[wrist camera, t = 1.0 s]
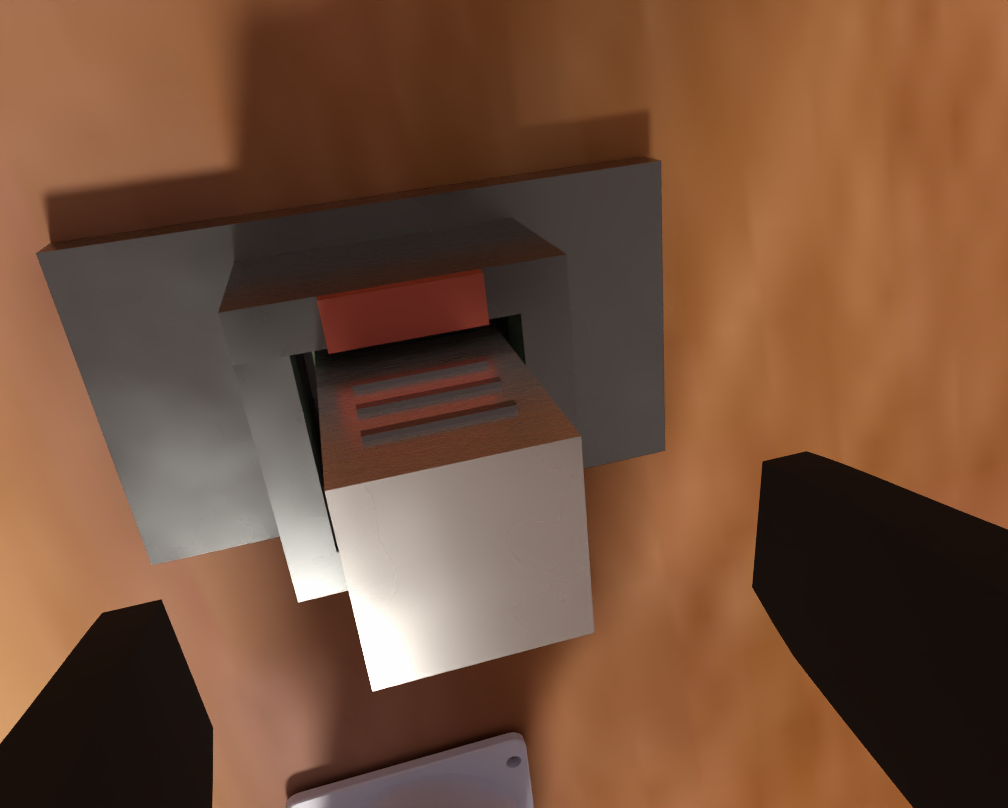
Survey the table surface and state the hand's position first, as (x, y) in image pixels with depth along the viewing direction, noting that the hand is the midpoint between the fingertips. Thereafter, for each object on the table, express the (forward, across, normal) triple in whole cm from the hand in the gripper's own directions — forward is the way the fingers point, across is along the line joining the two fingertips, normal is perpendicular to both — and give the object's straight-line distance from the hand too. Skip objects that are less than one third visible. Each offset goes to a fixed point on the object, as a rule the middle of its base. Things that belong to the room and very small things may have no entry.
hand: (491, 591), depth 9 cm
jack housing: (+11, 0, +2) cm, 11 cm away
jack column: (+10, 0, +2) cm, 10 cm away
